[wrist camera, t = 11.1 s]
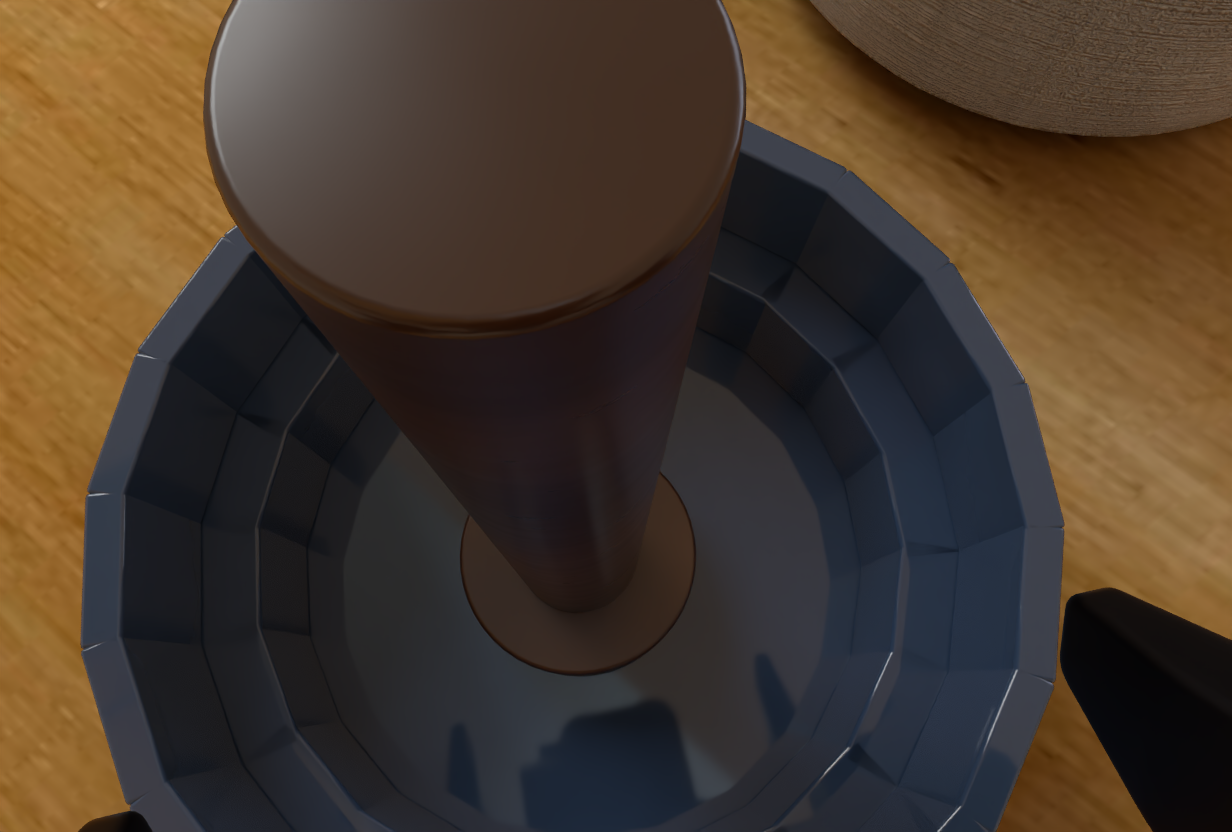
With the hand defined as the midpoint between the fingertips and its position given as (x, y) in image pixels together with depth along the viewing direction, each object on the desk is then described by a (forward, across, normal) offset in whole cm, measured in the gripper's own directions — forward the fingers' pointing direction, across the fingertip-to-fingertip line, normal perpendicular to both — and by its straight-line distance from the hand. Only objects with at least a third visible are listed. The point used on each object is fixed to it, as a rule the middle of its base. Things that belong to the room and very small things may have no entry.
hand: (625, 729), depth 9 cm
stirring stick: (+9, 0, +5) cm, 10 cm away
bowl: (+9, 0, +5) cm, 10 cm away
